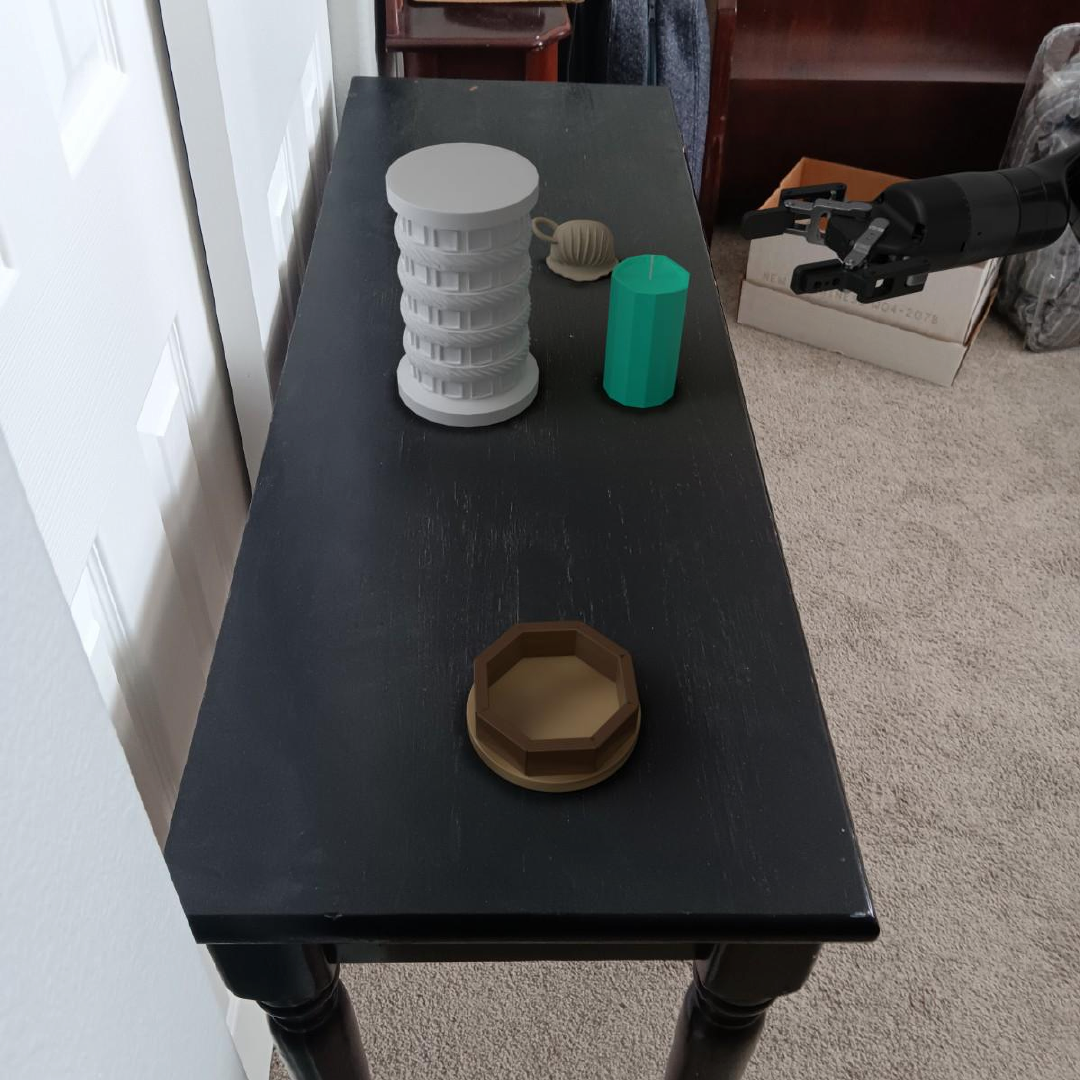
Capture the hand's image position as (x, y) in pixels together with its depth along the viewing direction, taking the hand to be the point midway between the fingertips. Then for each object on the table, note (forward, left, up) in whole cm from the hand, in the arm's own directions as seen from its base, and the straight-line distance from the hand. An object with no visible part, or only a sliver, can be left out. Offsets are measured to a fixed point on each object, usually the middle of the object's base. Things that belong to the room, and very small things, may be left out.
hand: (767, 253), depth 84 cm
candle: (+5, +9, -11) cm, 15 cm away
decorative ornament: (+21, -2, -11) cm, 23 cm away
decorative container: (+15, +18, -11) cm, 26 cm away
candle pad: (-11, +39, -10) cm, 42 cm away
